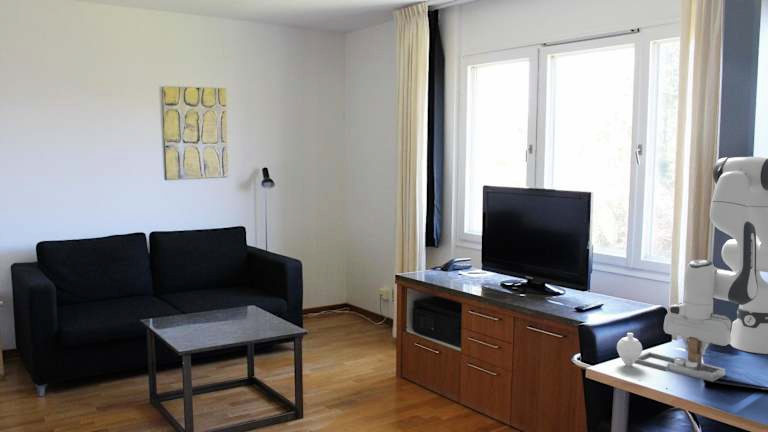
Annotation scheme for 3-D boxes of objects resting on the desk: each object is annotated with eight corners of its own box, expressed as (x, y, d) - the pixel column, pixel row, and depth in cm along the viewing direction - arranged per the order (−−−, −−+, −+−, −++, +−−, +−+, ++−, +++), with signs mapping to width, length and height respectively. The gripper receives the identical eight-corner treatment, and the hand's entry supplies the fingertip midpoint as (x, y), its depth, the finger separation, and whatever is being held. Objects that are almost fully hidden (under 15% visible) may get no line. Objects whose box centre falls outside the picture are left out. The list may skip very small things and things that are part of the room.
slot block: (679, 368, 219) (680, 357, 219) (724, 379, 209) (725, 368, 208) (666, 374, 213) (667, 363, 213) (712, 386, 203) (713, 375, 202)
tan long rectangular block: (693, 364, 222) (695, 334, 221) (701, 366, 220) (703, 336, 219) (687, 367, 219) (689, 336, 218) (695, 369, 217) (697, 338, 216)
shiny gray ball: (676, 365, 217) (677, 356, 217) (687, 368, 214) (688, 359, 214) (672, 368, 215) (672, 358, 214) (682, 370, 212) (683, 361, 212)
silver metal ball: (687, 368, 214) (688, 359, 214) (698, 371, 212) (699, 361, 212) (683, 371, 212) (683, 361, 212) (694, 373, 210) (694, 364, 209)
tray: (648, 359, 228) (648, 352, 228) (681, 367, 220) (681, 360, 219) (632, 366, 221) (632, 358, 220) (665, 375, 212) (665, 366, 212)
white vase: (619, 364, 222) (621, 328, 221) (643, 369, 218) (645, 332, 217) (612, 370, 216) (614, 333, 214) (637, 375, 212) (639, 337, 210)
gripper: (735, 315, 212) (732, 358, 213) (671, 303, 227) (669, 343, 228) (727, 318, 208) (724, 362, 209) (662, 306, 223) (660, 347, 224)
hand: (695, 352), depth 219 cm, fingers closed on tan long rectangular block, 2 cm apart
